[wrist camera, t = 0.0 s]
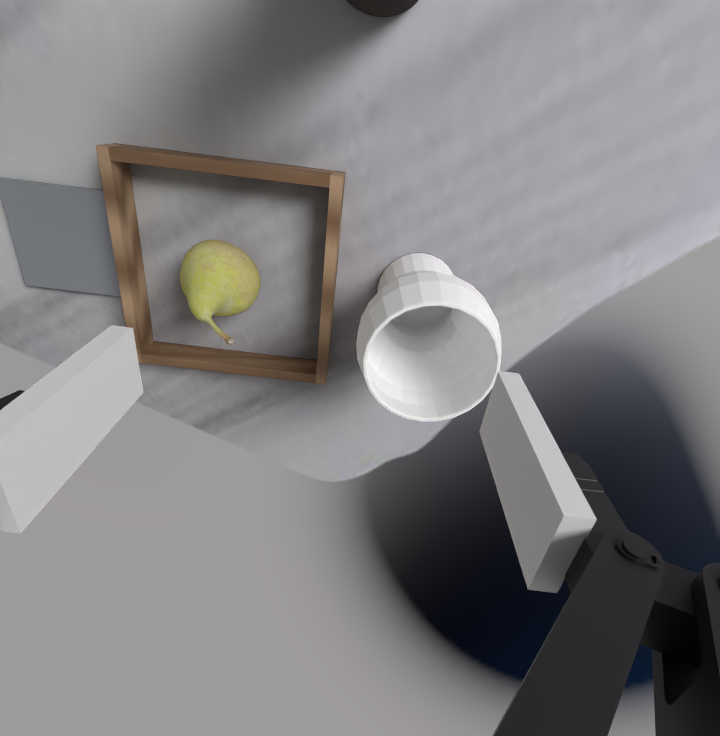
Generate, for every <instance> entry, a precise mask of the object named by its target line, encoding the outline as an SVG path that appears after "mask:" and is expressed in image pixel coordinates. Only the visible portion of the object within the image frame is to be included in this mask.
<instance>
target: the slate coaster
mask: <svg viewBox="0 0 720 736" xmlns="http://www.w3.org/2000/svg"><path fill="white" fill-rule="evenodd" d="M0 196H1V199H2V203H3V206H4V210H5V214H6V217H7V221H8V224H9V228H10V232H11V235H12V239H13V242H14V246H15V250H16V253H17V257H18V260H19V264H20V268H21V271H22V275H23V278H24V282H25V285H27V286H36V287H44V288H53V289H61V290H69V291H78V292H86V293H94V294H103V295H111V296H119V297H121V294H120V288H119V282H118V276H117V270H116V264H115V258H114V252H113V246H112V240H111V234H110V228H109V222H108V216H107V210H106V204H105V198H104V192H103V190H98V189H90V188H82V187H74V186H66V185H58V184H50V183H41V182H33V181H25V180H17V179H9V178H0Z"/></svg>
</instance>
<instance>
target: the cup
mask: <svg viewBox="0 0 720 736" xmlns="http://www.w3.org/2000/svg"><path fill="white" fill-rule="evenodd" d="M356 347H357V360H358V363H359V366H360V368H361V371H362V374H363V376H364V379H365V382H366V384H367V387H368V389H369V391H370V392H371V393H372V395H373V396H374V397H375V399H376V400H377V401H378V402H379V403H380V404H381V405H382V406H384V407H385V408H386V409H388V410H389V411H390V412H392V413H394V414H397V415H399V416H401V417H403V418H406V419H411V420H416V421H441V420H445V419H449V418H454V417H456V416H458V415H460V414H463V413H465V412H467V411H469V410H470V409H472V408H473V407H474V406H476V405H477V404H478V403H479V402H481V401H482V400H483V399H484V398H485V396H486V395H487V394H488V393H489V391H490V390H491V389H492V387H493V386H494V383H495V380H496V376H497V373H498V371H500V362H501V336H500V330H499V325H498V322H497V320H496V318H495V316H494V314H493V312H492V311H491V309H490V307H489V305H488V303H487V302H486V300H485V298H484V297H483V296H482V295H481V294H480V293H479V292H478V291H477V290H476V289H475V288H474V287H473V286H472V285H471V284H469V283H467V282H465V281H463V280H461V279H460V278H458V277H456V276H454V275H453V273H452V271H451V270H450V268H449V267H448V266H447V265H446V264H445V263H444V262H443V261H442V260H440V259H438V258H436V257H435V256H433V255H428V254H424V253H416V254H409V255H406V256H402V257H400V258H399V259H397V260H395V261H394V262H392V263H391V264H390V265H389V266H388V267H387V268H386V269H385V270H384V272H383V274H382V276H381V278H380V280H379V284H378V288H377V294H376V295H375V296H374V297H373V298H372V299H371V300H370V301H369V303H368V305H367V307H366V309H365V311H364V312H363V314H362V316H361V320H360V325H359V329H358V334H357V342H356Z"/></svg>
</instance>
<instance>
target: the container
mask: <svg viewBox="0 0 720 736" xmlns="http://www.w3.org/2000/svg"><path fill="white" fill-rule="evenodd" d="M347 1H348V2H349V3H350V4H351V5H352V6H353V7H355V8H356V9H358V10H360V11H361V12H363V13H366V14H369V15H372V16H379V17H388V16H394V15H397V14H400V13H402V12H404V11H406V10H408V9H409V8H411V7H412V6H413V5H414V4H415V3H416V2H417V1H418V0H347Z"/></svg>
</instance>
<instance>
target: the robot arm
mask: <svg viewBox="0 0 720 736" xmlns="http://www.w3.org/2000/svg"><path fill="white" fill-rule="evenodd" d="M142 394H143V387H142V381H141V375H140V369H139V362H138V356H137V350H136V343H135V337H134V331H133V328H130V327H122V326H113V325H111V326H110V327H109V328H107V329H106V330H105V331H103V332H102V333H101V334H99V335H98V336H97V337H95V338H94V339H93V340H92V341H90V342H89V343H88V344H86V345H85V346H84V347H82V348H81V349H80V350H78V351H77V352H76V353H75V354H73V355H72V356H71V357H69V358H68V359H67V360H65V361H64V362H63V363H61V364H60V365H59V366H57V367H56V368H55V369H54V370H52V371H51V372H50V373H49V374H47V375H46V376H44V377H43V378H42V379H41V380H39V381H38V382H37V383H35V384H34V385H33V386H32V387H30V388H29V389H28V390H26V391H21V390H19V391H17V392H15V393H12V394H10V395H8V396H5V397H3V398H1V399H0V531H5V532H15V533H21V532H22V531H23V530H24V529H25V528H26V527H27V526H28V524H29V523H30V522H31V521H32V520H33V519H34V518H35V516H36V515H37V514H38V513H39V512H40V511H41V510H42V508H43V507H44V506H45V505H46V504H47V502H48V501H49V500H50V499H51V498H52V497H53V496H54V495H55V493H56V492H57V491H58V490H59V489H60V488H61V487H62V485H63V484H64V483H65V482H66V481H67V480H68V478H69V477H70V476H71V475H72V474H73V473H74V472H75V470H76V469H77V468H78V467H79V466H80V465H81V464H82V462H83V461H84V460H85V459H86V458H87V457H88V456H89V454H90V453H91V452H92V451H93V450H94V449H95V448H96V446H97V445H98V444H99V443H100V442H101V441H102V439H103V438H104V437H105V436H106V435H107V434H108V433H109V431H110V430H111V429H112V428H113V427H114V425H116V423H117V422H118V421H119V420H120V419H121V418H122V417H123V415H124V414H125V413H126V412H127V411H128V410H129V409H130V407H131V406H132V405H133V404H134V403H135V402H136V400H137V399H138V398H139V397H140V396H141V395H142ZM480 435H481V438H482V441H483V445H484V448H485V451H486V455H487V458H488V461H489V464H490V467H491V471H492V474H493V477H494V480H495V484H496V487H497V490H498V494H499V497H500V500H501V503H502V507H503V510H504V513H505V516H506V520H507V523H508V526H509V529H510V533H511V536H512V539H513V542H514V545H515V548H516V552H517V555H518V558H519V562H520V565H521V568H522V571H523V575H524V578H525V581H526V584H527V588H528V590H536V591H545V592H554V593H557V592H558V590H559V588H560V586H561V585H562V583H563V581H564V579H566V581H567V584H568V587H569V589H570V592H571V594H570V596H569V598H568V600H567V601H566V603H565V605H564V607H563V608H562V610H561V612H560V614H559V616H558V617H557V620H556V621H555V623H554V625H553V627H552V629H551V631H550V632H549V634H548V636H547V638H546V640H545V642H544V644H543V645H542V647H541V649H540V651H539V652H538V654H537V656H536V658H535V660H534V661H533V663H532V665H531V667H530V669H529V671H528V672H527V674H526V676H525V678H524V680H523V681H522V683H521V685H520V687H519V689H518V691H517V692H516V694H515V696H514V698H513V700H512V701H511V703H510V705H509V707H508V709H507V711H506V713H505V714H504V716H503V718H502V720H501V721H500V723H499V725H498V727H497V729H496V730H495V732H494V734H493V736H607V735H608V732H609V730H610V727H611V724H612V721H613V718H614V715H615V712H616V709H617V707H618V704H619V701H620V698H621V695H622V692H623V689H624V686H625V683H626V681H627V678H628V675H629V672H630V669H631V666H632V663H633V660H634V657H635V655H636V652H637V649H638V646H639V644H641V645H644V646H646V647H649V648H651V649H652V654H653V679H654V703H655V729H656V736H720V563H710V564H708V565H707V566H705V567H704V568H703V569H702V570H701V572H700V573H699V574H697V573H695V572H692V571H689V570H686V569H684V568H681V567H678V566H675V565H672V564H670V563H667V562H665V561H663V559H662V557H661V555H660V553H659V552H658V551H657V550H656V549H655V548H654V547H653V546H652V544H650V543H649V542H647V541H646V540H645V539H643V538H642V537H640V536H638V535H636V534H634V533H632V532H629V531H628V530H627V528H626V527H625V525H624V523H623V522H622V520H621V518H620V516H619V515H618V513H617V512H616V510H615V508H614V507H613V505H612V503H611V501H610V500H609V498H608V496H607V495H606V493H604V490H603V488H602V486H601V484H600V483H599V482H597V478H596V476H595V475H594V473H593V471H592V469H591V468H590V466H589V465H588V464H587V463H586V462H584V461H583V460H582V459H581V458H580V457H579V456H578V455H577V454H574V453H565V452H561V451H560V449H559V448H558V446H557V444H556V442H555V440H554V438H553V436H552V435H551V433H550V431H549V429H548V427H547V425H546V423H545V422H544V419H543V418H542V416H541V414H540V412H539V410H538V408H537V406H536V404H535V403H534V401H533V399H532V397H531V395H530V393H529V391H528V389H527V388H526V386H525V384H524V382H523V380H522V378H521V376H520V374H517V373H509V372H501V371H498V373H497V376H496V380H495V383H494V386H493V389H492V393H491V396H490V399H489V403H488V406H487V409H486V412H485V416H484V419H483V422H482V425H481V429H480Z"/></svg>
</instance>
